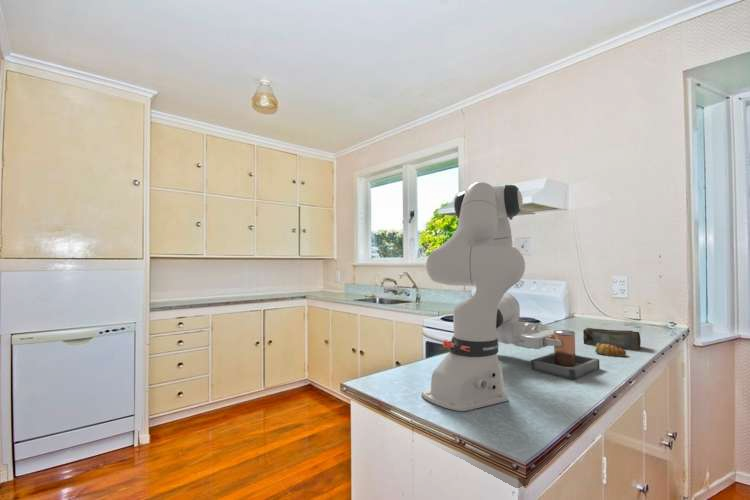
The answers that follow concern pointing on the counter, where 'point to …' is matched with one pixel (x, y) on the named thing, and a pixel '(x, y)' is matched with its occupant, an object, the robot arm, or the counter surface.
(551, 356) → the tray
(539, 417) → the counter surface
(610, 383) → the counter surface
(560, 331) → the tin can
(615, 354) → the pastry
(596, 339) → the beverage carton
